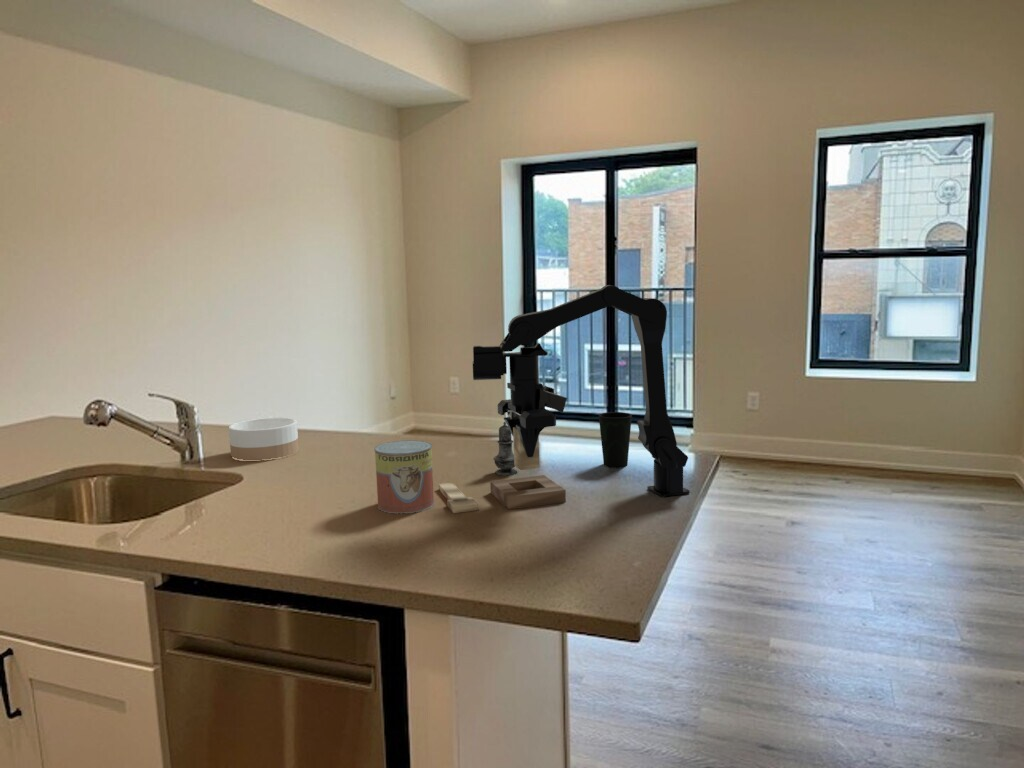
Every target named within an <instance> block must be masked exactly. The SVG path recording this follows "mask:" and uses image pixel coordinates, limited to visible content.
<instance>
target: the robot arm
mask: <svg viewBox="0 0 1024 768" xmlns="http://www.w3.org/2000/svg"><path fill="white" fill-rule="evenodd" d="M607 307H612V308H614V309H616V310H618V311H620V312H622V313H624V314H627V315H629V316H631V319H632V323H633V327H634V331H635V333H636V336H637V338H638V341H639V345H640V356H641V368H642V369H641V370H642V379H643V394H644V403H645V413H644V417H643V420H641V419H640V420H637V421H636V422H637V427H638V436H637V439H638V440H639V441H640V442H641V443H642V446H643V448H644V449H646V451H648V452H649V453H650V455H651V457H652V459H653V485H648V486H647V490H649V491H651V492H653V493H655V494H656V495H658V496H661V497H671V496H678V495H685V494H690V493H691V490H689V489H687V488H685V487H684V467H686V465H687V462H688V460H689V456H688V455H687V454H686V453H684V452H683V450H681V449H680V448H679V447H678V445H677V444H678V442H677V439H676V435H675V434H676V433H675V431H674V427H673V425H672V422H671V420H670V416H669V414H668V407H667V393H666V382H665V369H664V366H665V365H664V357H663V342H664V341H663V340H664V336H665V332H666V326H667V317H668V316H667V315H668V311H667V307H666V305H665V304H664V303H663V302H662V301H661V300H659V299H657V298H652V297H651V298H650V297H643V298H642V297H640V296H638V295H635V294H633V293H630V292H628V291H626V290H623V289H621V288H619V287H618V286H616V285H613V284H612V285H611V284H608V285H603V286H602V287H601V288H599V289H597V290H595V291H592V292H590V293H587V294H584V295H582V296H579V297H576V298H574V299H572V300H569V301H567V302H564V303H562V304H559V305H557V306H554V307H551V308H549V309H544V310H539V311H532V312H528V313H523V314H518V315H516V316H514V317H512V318H511V320H510V321H509V323H508V328H507V332H508V333H507V334H506V336H505V337H504V339H503V340H501V343H500V344H499V345H494V346H493V345H490V346H488V345H487V346H483V345H474V346H473V347H472V350H473V351H472V353H473V360H472V378H473V381H484V380H485V381H491V380H493V381H494V380H502V376H504V375H507V374H508V373H507V368H508V367H507V358H509V359H508V360H509V382H506V385H507V387H506V388H507V389H509V390H510V391H509V392H510V399H509V398H508V399H501V400H500V401H499V403H498V404H497V414H498V415H500V416H505V414H507V415H506V417H503V420H504V422H506V425H507V426H508V428H509V430H510V431H511V437H513V427H517V430H518V433H519V435H520V438H521V441H522V444H523V446H524V449H525V452H526V454H527V457H533V455H534V451H535V447H536V444H537V440H538V437H539V438H540V433H541V431H543V430H544V429H546V428H548V427H556V426H557V416H556V414H554V413H553V412H552V411H551V410H548V409H552V410H555V411H557V412H559V413H562V414H563V413H564V410H565V407H566V404H567V401H568V397H566V396H564V395H560V394H557V393H555V388H553V387H550V386H547V385H543V383H541V382H539V379H540V378H539V357H542V356H543V357H544V356H548V355H549V354H548V351H547V350H546V349H544V348H543V346H542V345H541V343H540V342H537V341H538V340H539V339H541V338H543V337H545V335H547V334H549V333H550V332H551V331H554V330H555V329H556V328H558V327H561V326H563V325H565V324H568V323H569V322H574V321H575V320H578V319H581V318H583V317H585V316H588V315H590V314H593V313H596V312H598V311H600V310H602V309H603V310H604V309H606V308H607ZM534 342H537V343H536V344H535V345H534V346H529V345H531V344H533V343H534ZM520 346H522V347H520ZM523 346H525V347H523ZM527 346H529V347H527ZM519 347H520V348H519ZM517 348H519V351H517V352H513V351H514V350H516V349H517ZM546 408H548V409H546Z"/></svg>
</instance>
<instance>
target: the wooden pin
mask: <svg viewBox="0 0 1024 768" xmlns="http://www.w3.org/2000/svg"><path fill="white" fill-rule="evenodd" d="M512 438H513V440H512V441H513V454H514V466H515V467H516V468H517V469H518V470H520V471H526V470H532V469H540V443H539V440H540V436H539V437H538V440H537V444H536V447H535V451H534V455H533V457H527V454H526V452H525V449H524V446H523V444H522V441H521V438H520V435H519V433H518V430H517V427H513V436H512Z"/></svg>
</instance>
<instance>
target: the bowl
mask: <svg viewBox="0 0 1024 768" xmlns="http://www.w3.org/2000/svg"><path fill="white" fill-rule="evenodd" d="M228 439H229V445H230V446H229V447H230V457H231V456H232V457H234V458H237V459H243V460H262V459H271V458H278V457H283V456H287V455H290V454H294V453H295V452H297V451H298V450H300V449H299V433H298V421H297V420H296V419H294V418H288V417H265V418H264V417H263V418H254V419H247V420H246V419H245V420H242V421H238V422H235V423H232V424H230V425H229V426H228ZM298 452H299V451H298Z"/></svg>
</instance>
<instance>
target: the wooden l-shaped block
mask: <svg viewBox="0 0 1024 768" xmlns="http://www.w3.org/2000/svg"><path fill="white" fill-rule="evenodd" d="M438 491H440V493H441V494H442V495H443V496H444V497H445V499H446V500H447V501H446V503H447V504H446V505H447V507H448V509H449V510H450V511H451V512H452V514H457V513H465V512H467V513H468V512H473V511H479V503H478V502H477V501H476V500H475V499H474V498H473V497H472V496H469V497H467V496H466V495H465V494H464V493H463V492H462V491H461V490H460V489H459V488H458V487H457V486H456V484H454V483H453V482H444V483H443V482H442V483H438Z"/></svg>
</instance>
